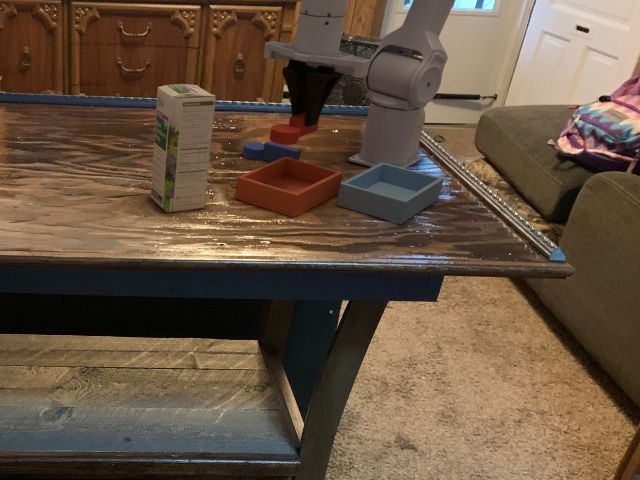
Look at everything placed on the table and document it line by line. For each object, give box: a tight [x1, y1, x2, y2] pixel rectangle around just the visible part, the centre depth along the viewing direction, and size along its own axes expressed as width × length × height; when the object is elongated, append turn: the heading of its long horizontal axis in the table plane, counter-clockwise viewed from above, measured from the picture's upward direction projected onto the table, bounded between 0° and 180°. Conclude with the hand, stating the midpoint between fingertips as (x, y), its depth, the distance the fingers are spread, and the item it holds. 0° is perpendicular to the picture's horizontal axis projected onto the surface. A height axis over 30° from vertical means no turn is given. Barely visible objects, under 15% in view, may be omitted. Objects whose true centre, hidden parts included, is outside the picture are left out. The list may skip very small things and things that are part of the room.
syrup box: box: [150, 83, 217, 213], centre depth 96 cm, size 6×6×14 cm
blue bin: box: [336, 162, 445, 225], centre depth 102 cm, size 12×9×3 cm
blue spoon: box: [241, 140, 302, 163], centre depth 115 cm, size 9×4×3 cm, turn 49°
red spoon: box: [269, 112, 321, 146], centre depth 102 cm, size 9×4×3 cm, turn 137°
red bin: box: [234, 156, 344, 218], centre depth 103 cm, size 12×9×3 cm
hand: (304, 123), depth 103 cm, fingers closed on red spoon
